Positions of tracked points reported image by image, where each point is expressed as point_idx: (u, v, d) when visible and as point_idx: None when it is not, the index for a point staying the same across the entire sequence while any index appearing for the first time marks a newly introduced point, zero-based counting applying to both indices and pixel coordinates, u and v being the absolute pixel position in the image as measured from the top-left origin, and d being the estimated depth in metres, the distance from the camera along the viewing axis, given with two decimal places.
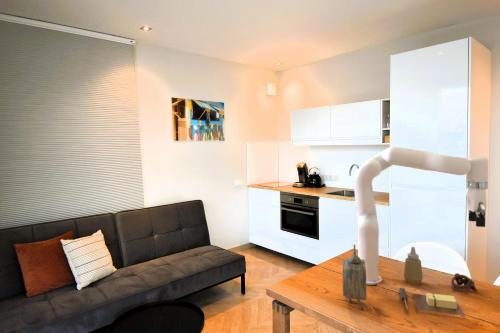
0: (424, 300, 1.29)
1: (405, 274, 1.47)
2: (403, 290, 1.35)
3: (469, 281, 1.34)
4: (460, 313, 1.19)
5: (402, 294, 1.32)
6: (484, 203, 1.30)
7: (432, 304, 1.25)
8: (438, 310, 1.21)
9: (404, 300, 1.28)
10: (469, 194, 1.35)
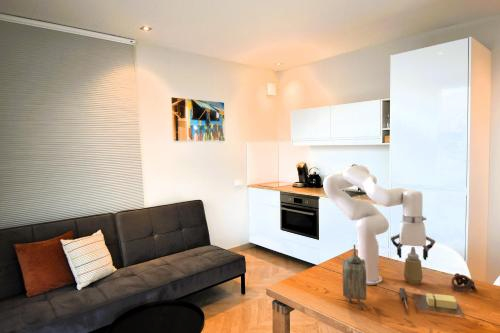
0: (424, 300, 1.29)
1: (405, 274, 1.47)
2: (403, 290, 1.35)
3: (469, 281, 1.34)
4: (460, 313, 1.19)
5: (402, 294, 1.32)
6: (400, 235, 1.33)
7: (432, 304, 1.25)
8: (438, 310, 1.21)
9: (404, 300, 1.28)
10: None
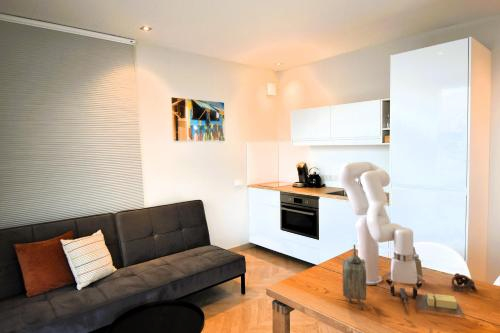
0: (424, 300, 1.29)
1: None
2: (403, 290, 1.35)
3: (469, 281, 1.34)
4: (460, 313, 1.19)
5: (402, 294, 1.32)
6: (391, 272, 1.34)
7: (432, 304, 1.25)
8: (438, 310, 1.21)
9: (404, 300, 1.28)
10: None
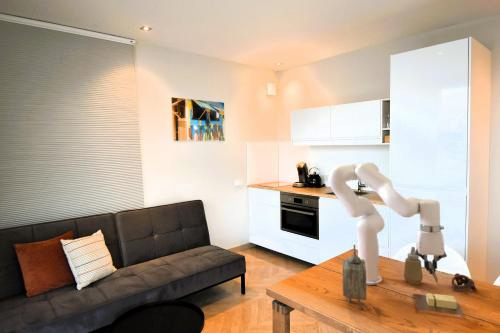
0: (424, 300, 1.29)
1: (405, 274, 1.47)
2: (430, 263, 1.36)
3: (469, 281, 1.34)
4: (460, 313, 1.19)
5: (430, 266, 1.32)
6: (417, 244, 1.34)
7: (432, 304, 1.25)
8: (438, 310, 1.21)
9: (432, 271, 1.29)
10: None
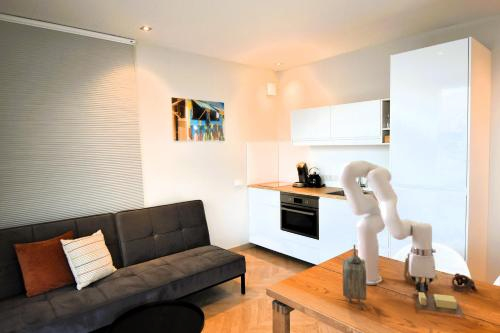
0: None
1: (405, 274, 1.47)
2: (422, 284, 1.38)
3: (469, 281, 1.34)
4: (460, 313, 1.19)
5: (421, 288, 1.35)
6: (409, 266, 1.36)
7: (424, 303, 1.26)
8: (438, 310, 1.21)
9: None
10: None
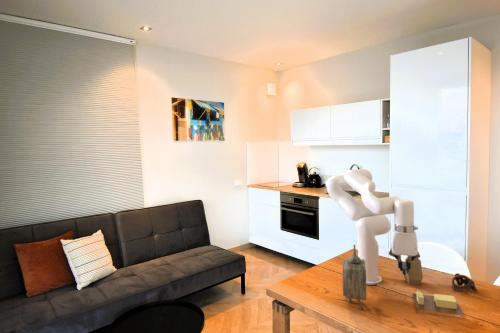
0: (424, 300, 1.29)
1: None
2: (404, 263, 1.35)
3: (469, 281, 1.34)
4: (460, 313, 1.19)
5: (403, 266, 1.31)
6: (391, 244, 1.33)
7: (422, 302, 1.26)
8: (438, 310, 1.21)
9: (405, 271, 1.28)
10: None
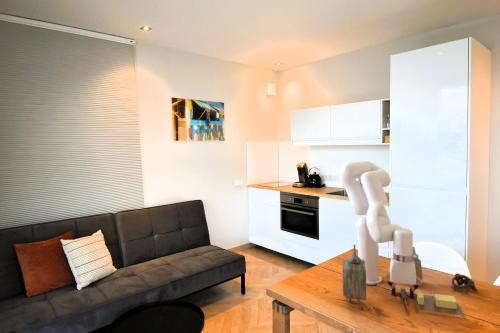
0: (424, 300, 1.29)
1: None
2: (404, 290, 1.35)
3: (469, 281, 1.34)
4: (460, 313, 1.19)
5: (403, 294, 1.32)
6: (390, 272, 1.34)
7: (422, 302, 1.26)
8: (438, 310, 1.21)
9: (405, 300, 1.28)
10: None
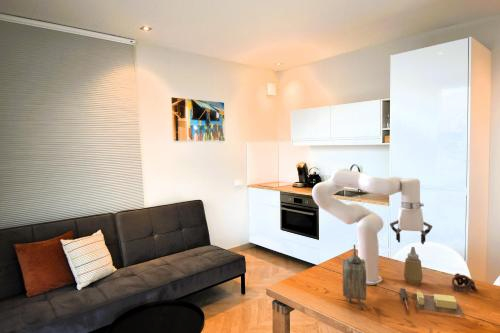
0: (424, 300, 1.29)
1: (405, 274, 1.47)
2: (404, 290, 1.35)
3: (469, 281, 1.34)
4: (460, 313, 1.19)
5: (403, 294, 1.32)
6: (398, 220, 1.40)
7: (422, 303, 1.26)
8: (438, 310, 1.21)
9: (405, 300, 1.28)
10: None
